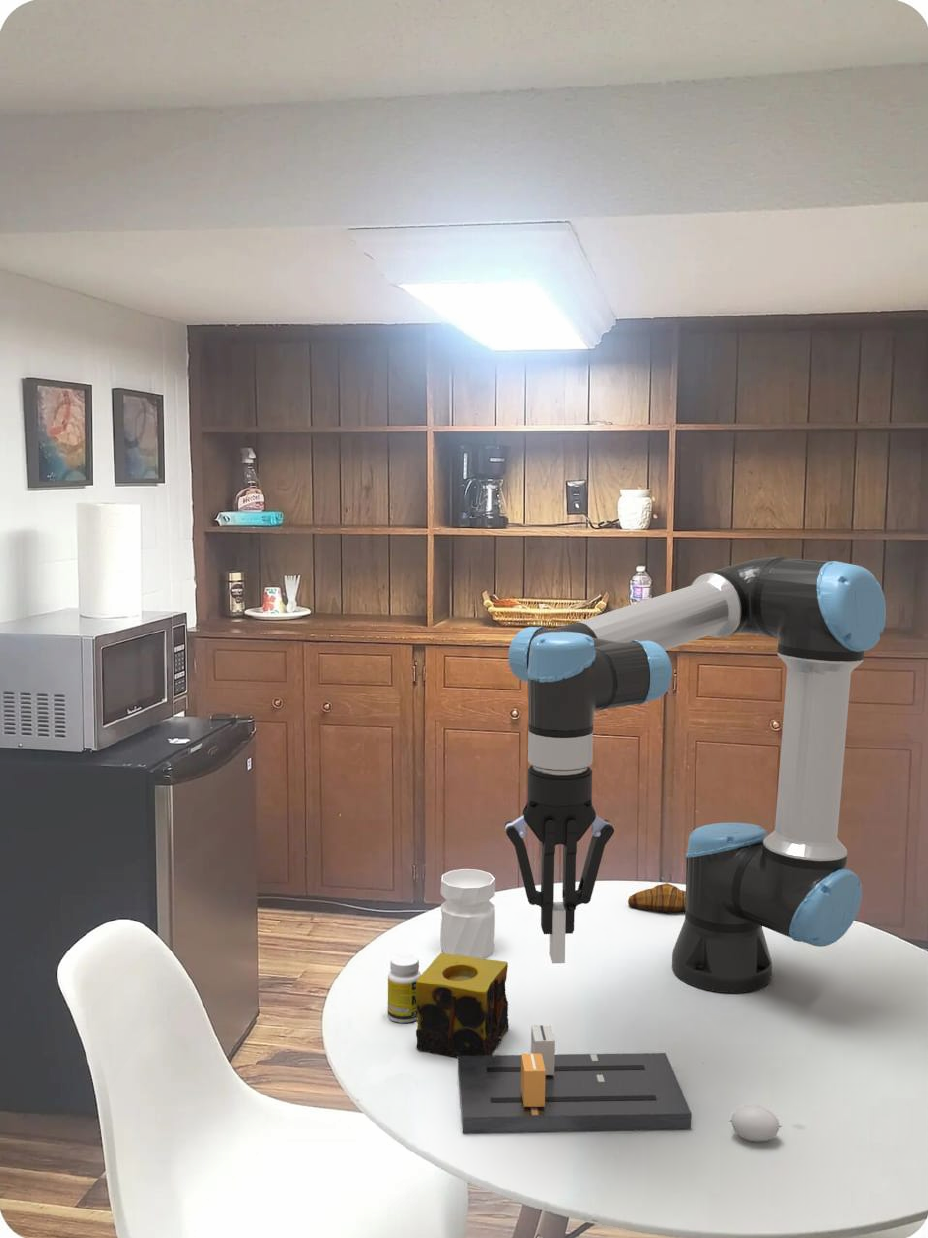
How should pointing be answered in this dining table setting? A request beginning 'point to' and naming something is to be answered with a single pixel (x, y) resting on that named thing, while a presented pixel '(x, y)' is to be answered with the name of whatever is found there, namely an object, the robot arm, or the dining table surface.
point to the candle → (461, 1006)
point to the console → (573, 1094)
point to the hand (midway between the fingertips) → (557, 958)
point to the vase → (467, 913)
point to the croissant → (660, 899)
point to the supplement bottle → (403, 988)
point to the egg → (755, 1123)
